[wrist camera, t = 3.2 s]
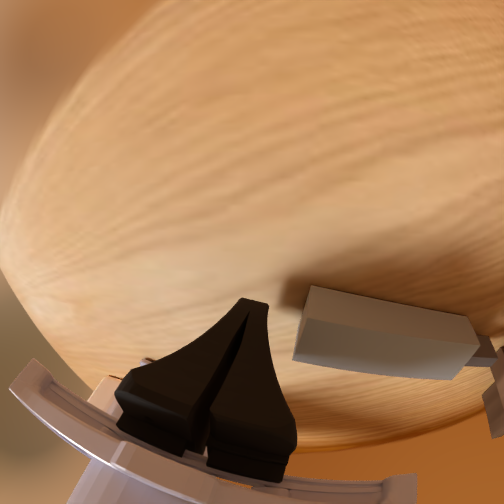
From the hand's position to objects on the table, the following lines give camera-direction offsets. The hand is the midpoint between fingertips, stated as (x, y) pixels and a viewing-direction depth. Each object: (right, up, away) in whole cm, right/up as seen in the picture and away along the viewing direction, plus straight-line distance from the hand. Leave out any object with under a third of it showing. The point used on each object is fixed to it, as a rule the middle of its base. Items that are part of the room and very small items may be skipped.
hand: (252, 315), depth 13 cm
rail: (+9, -1, 0) cm, 9 cm away
